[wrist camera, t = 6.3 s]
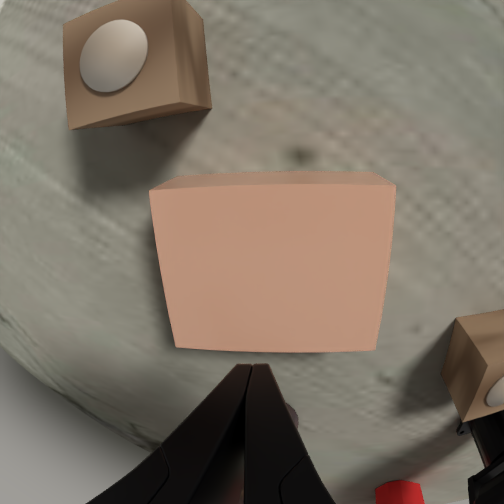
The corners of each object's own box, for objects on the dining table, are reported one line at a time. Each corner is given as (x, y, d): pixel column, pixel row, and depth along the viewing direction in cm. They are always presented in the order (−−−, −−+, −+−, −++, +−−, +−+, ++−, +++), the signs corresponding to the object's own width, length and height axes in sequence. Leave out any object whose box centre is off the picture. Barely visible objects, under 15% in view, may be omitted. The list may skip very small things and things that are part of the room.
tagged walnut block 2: (492, 361, 19) (519, 406, 14) (440, 373, 19) (463, 424, 15) (509, 307, 17) (546, 349, 12) (455, 317, 18) (489, 367, 13)
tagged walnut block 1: (212, 108, 15) (178, 101, 10) (124, 125, 15) (66, 130, 11) (203, 19, 13) (168, -18, 8) (116, 42, 14) (60, 23, 9)
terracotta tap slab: (361, 308, 18) (374, 350, 15) (195, 307, 19) (175, 347, 16) (371, 171, 15) (396, 185, 12) (179, 175, 16) (148, 190, 13)
